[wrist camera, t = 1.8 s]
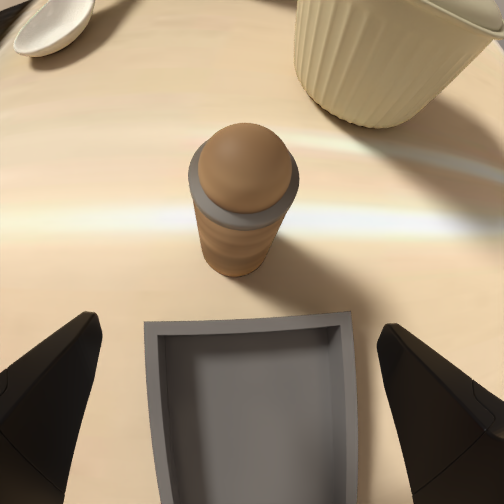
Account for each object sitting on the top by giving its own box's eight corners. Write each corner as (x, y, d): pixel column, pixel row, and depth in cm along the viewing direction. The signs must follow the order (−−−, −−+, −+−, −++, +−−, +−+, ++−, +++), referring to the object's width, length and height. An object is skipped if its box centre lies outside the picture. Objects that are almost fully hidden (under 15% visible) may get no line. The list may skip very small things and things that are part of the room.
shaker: (270, 276, 23) (321, 199, 11) (201, 278, 23) (180, 201, 11) (265, 212, 24) (302, 98, 13) (200, 214, 24) (186, 97, 12)
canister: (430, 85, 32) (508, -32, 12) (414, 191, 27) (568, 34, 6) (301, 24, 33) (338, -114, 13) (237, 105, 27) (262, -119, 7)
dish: (338, 522, 18) (354, 542, 14) (178, 538, 16) (173, 561, 13) (332, 316, 23) (350, 311, 19) (155, 325, 21) (143, 321, 18)
